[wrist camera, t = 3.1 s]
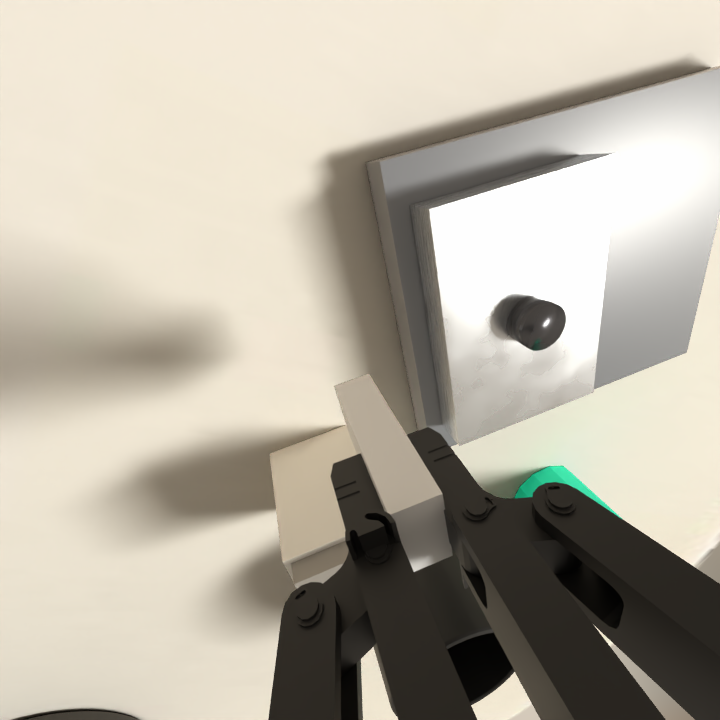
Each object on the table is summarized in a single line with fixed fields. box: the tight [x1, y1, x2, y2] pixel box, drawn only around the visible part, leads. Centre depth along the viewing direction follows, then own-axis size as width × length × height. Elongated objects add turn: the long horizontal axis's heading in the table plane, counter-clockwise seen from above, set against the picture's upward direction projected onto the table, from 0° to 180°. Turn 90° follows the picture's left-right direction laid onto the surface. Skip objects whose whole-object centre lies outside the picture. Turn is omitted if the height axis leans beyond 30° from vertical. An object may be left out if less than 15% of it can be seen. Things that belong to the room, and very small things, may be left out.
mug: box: [374, 546, 515, 716], centre depth 28 cm, size 9×12×9 cm
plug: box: [270, 425, 357, 589], centre depth 21 cm, size 5×5×8 cm
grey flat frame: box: [366, 66, 720, 447], centre depth 22 cm, size 20×17×2 cm
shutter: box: [410, 153, 618, 446], centre depth 19 cm, size 9×13×3 cm
